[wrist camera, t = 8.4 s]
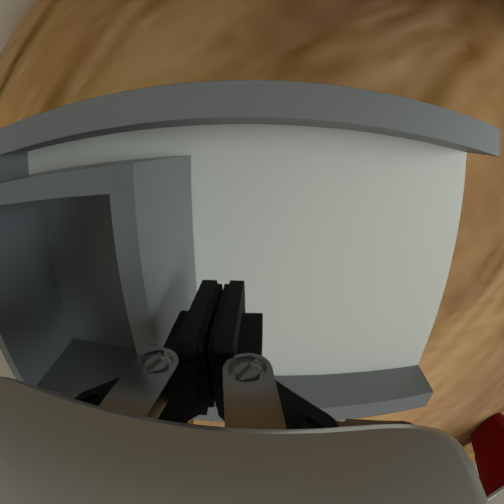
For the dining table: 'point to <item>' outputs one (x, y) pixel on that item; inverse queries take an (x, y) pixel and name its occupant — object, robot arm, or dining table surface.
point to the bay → (299, 215)
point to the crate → (93, 268)
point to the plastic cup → (490, 454)
